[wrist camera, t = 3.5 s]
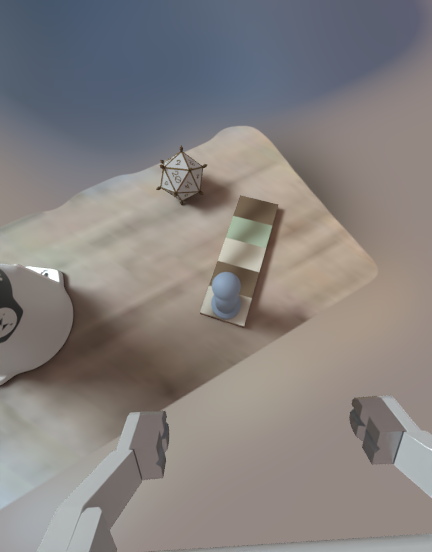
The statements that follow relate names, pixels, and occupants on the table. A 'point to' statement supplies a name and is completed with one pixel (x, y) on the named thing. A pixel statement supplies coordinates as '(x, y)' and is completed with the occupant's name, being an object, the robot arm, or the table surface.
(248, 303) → the track
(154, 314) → the table surface
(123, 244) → the table surface
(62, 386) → the table surface
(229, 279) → the pawn
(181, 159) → the game die
